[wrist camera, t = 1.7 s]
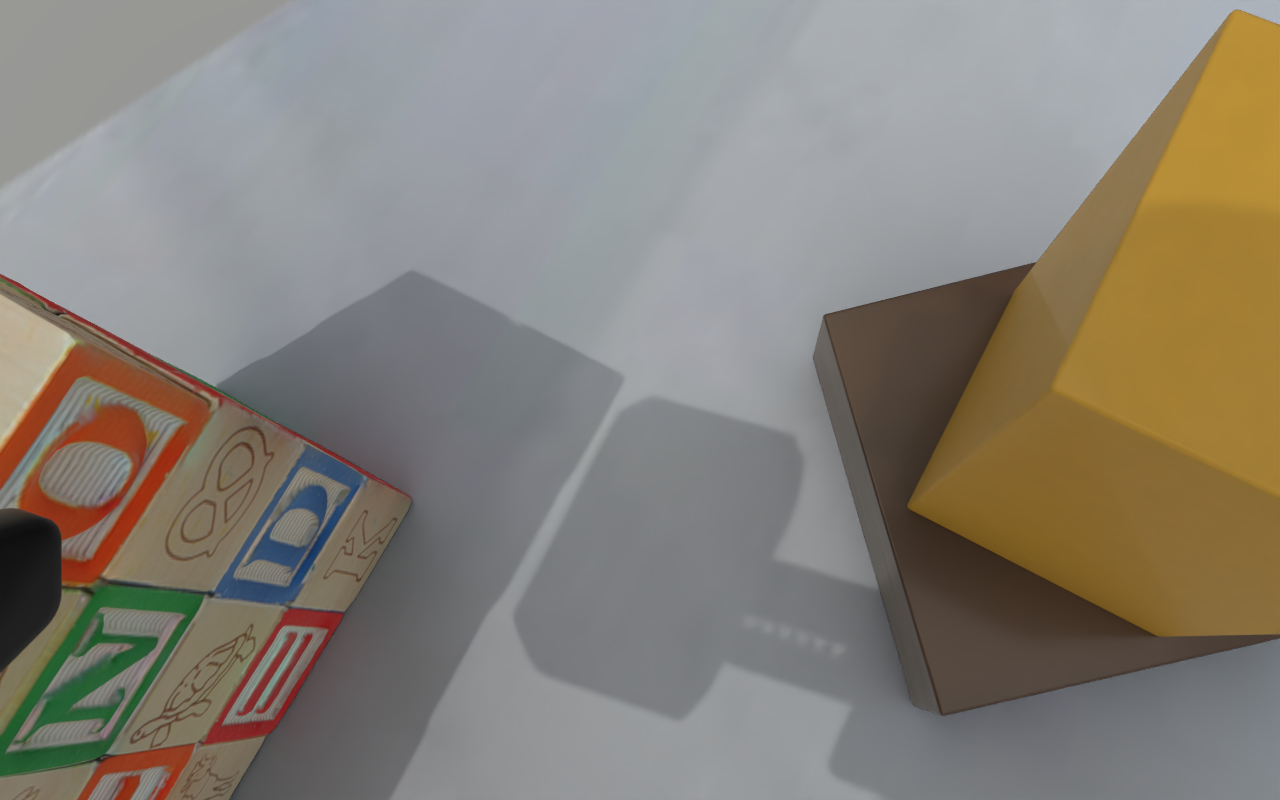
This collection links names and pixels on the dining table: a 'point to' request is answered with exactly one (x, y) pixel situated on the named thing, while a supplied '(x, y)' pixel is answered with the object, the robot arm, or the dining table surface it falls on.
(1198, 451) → the ochre block
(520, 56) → the dining table surface
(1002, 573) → the walnut block
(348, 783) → the dining table surface
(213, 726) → the stack of blocks
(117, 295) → the dining table surface
